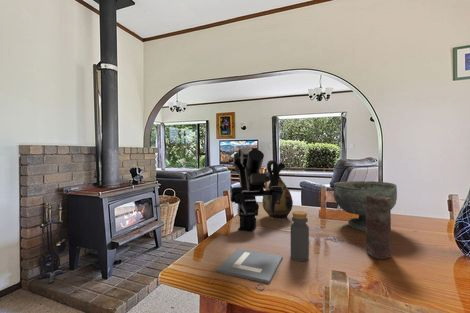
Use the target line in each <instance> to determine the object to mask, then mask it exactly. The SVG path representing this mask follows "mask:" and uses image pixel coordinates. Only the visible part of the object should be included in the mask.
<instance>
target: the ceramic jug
mask: <svg viewBox="0 0 470 313" xmlns="http://www.w3.org/2000/svg"><path fill="white" fill-rule="evenodd" d="M267 161H268V162H267V164H266V169H267V172H269V174H270V181H269V182H268V185H267V186H266V188H265V190H270V188H271V186H281V187H282V189H283V194H282V196H281V199H280V200H278V201H277V202H275V209H274V214H272V212H271V207H270V202H269V201H270V199H269V196H262V208H263V210H264V212H266V214H267V216H268V218H269V219H270V220H280V221H282V220H288V216H289V214H290V213H291V211H292V210H293V206H294V205H293V204H294V200H293V197H292V194H291V192H290V189H289V188H288V187H287V185H286V183H285V182H284V181H283V179H282V178H281V176H280V172H281V171H282V170H284V169H285V168H286V165H285V164H284V163H282V162H280V163H278V162H277V161H276V160H271V159H270V160H267Z"/></svg>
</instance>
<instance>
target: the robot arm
mask: <svg viewBox="0 0 470 313" xmlns="http://www.w3.org/2000/svg"><path fill="white" fill-rule="evenodd" d="M264 157H265V154H264V152H262V151H261V150H259V149H258V148H257V147H252V148H251V150H249V149H248V148H239V149H237V152H236V153H235V154H234V155H233V160H232V166H233V167H234V171H236V173H238V180H239V185H240V186H233V187H231V189H230V194H229V195H230V196H229V197H230V202H234V204H237V209H236V210H237V216H238V217H239V227H238V228H237V229H238V230H239V231H247V232H253V231H254V230H255V229H256V228H257V218H256V217H258V216H259V209H260V205H259V203H258V202H257V198H256V197H263V196H269V199H270V201H269V202H270V207H271V212H272V214H274V209H275V202H277V201H278V200H280V199H281V196H282V194H283V189H282V187H281V186H271V188H270V190H266V188H265V187H266V185H265V184H266V183H270V174H269V172H268V171H264V172H260V170H261V169H262V167H263V165H262V164H263V162H264V159H265V158H264ZM264 188H265V189H264Z"/></svg>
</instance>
